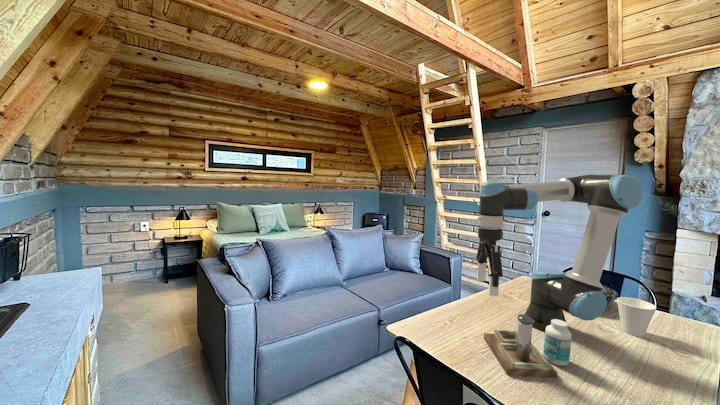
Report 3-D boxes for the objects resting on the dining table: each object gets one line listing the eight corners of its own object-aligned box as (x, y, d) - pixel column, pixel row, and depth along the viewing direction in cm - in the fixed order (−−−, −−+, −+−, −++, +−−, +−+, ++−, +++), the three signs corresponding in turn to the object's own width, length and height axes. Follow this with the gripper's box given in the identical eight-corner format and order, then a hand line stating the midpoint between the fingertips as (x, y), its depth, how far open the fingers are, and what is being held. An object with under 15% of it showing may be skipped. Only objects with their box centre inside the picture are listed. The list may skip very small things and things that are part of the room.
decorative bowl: (630, 319, 137) (634, 298, 136) (570, 313, 137) (573, 292, 136) (588, 296, 162) (591, 279, 161) (537, 291, 162) (540, 273, 161)
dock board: (524, 340, 113) (525, 330, 113) (556, 378, 92) (558, 365, 92) (483, 338, 114) (484, 328, 114) (506, 374, 93) (507, 362, 93)
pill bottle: (538, 353, 105) (541, 317, 104) (557, 353, 106) (561, 316, 104) (553, 367, 98) (557, 328, 96) (574, 367, 98) (578, 327, 97)
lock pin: (526, 354, 101) (529, 314, 100) (533, 362, 97) (536, 321, 95) (512, 353, 101) (515, 313, 100) (518, 361, 97) (521, 320, 96)
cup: (652, 332, 122) (656, 303, 121) (653, 343, 113) (657, 312, 112) (614, 322, 130) (617, 294, 129) (612, 332, 121) (615, 302, 120)
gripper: (469, 221, 115) (466, 275, 117) (490, 234, 90) (487, 302, 92) (489, 221, 114) (486, 275, 116) (517, 235, 89) (512, 303, 91)
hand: (486, 287), depth 104 cm, fingers open, 13 cm apart
